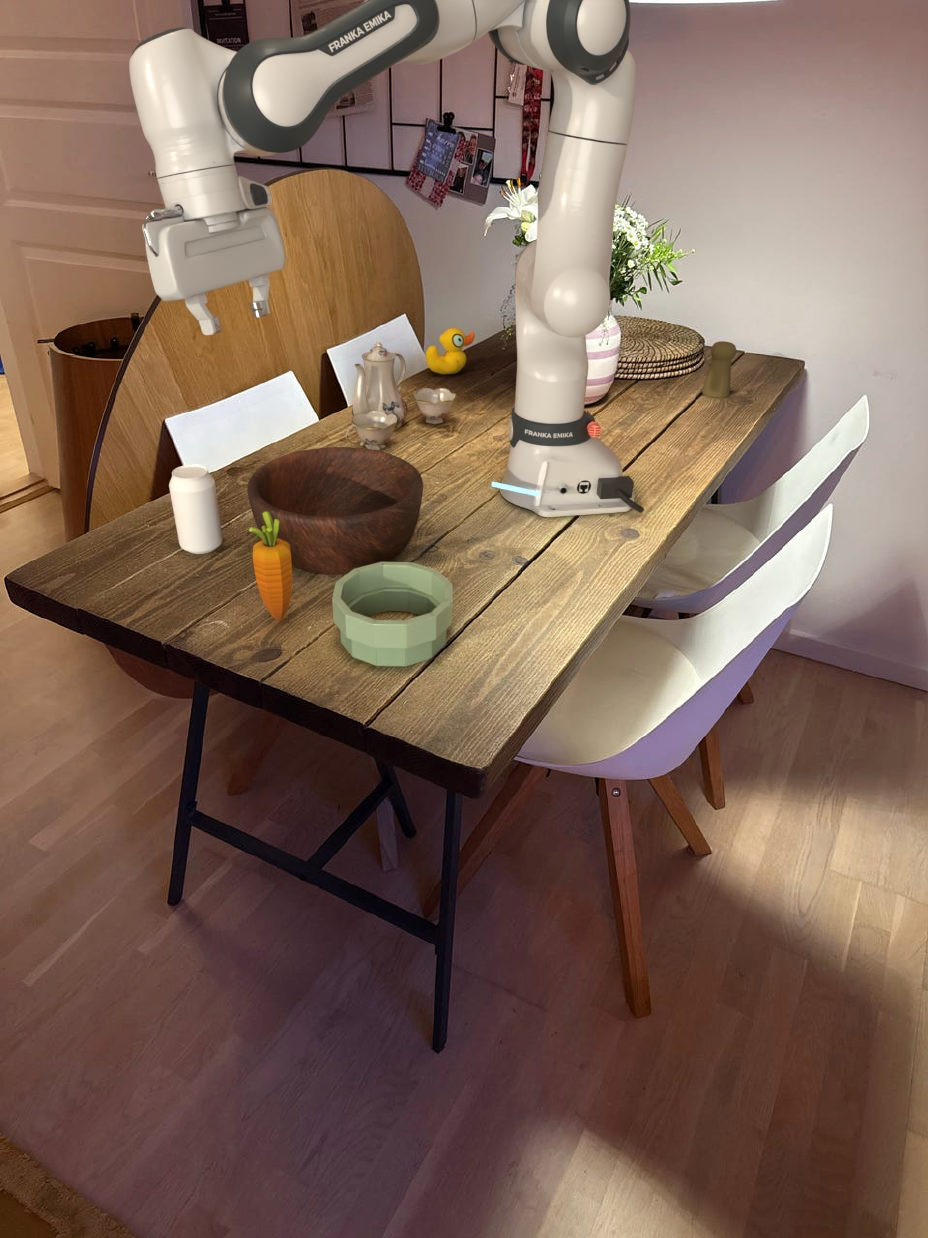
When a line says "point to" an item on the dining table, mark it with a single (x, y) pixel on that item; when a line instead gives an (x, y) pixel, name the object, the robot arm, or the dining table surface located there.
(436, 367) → the duckling
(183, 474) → the beverage can
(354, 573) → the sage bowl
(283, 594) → the carrot
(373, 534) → the wooden bowl
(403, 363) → the chinaware
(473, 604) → the dining table surface
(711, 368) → the olive brown knobbed cylinder
